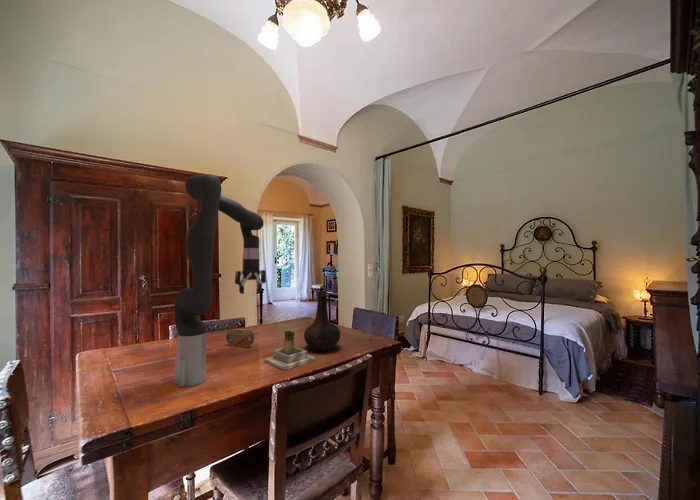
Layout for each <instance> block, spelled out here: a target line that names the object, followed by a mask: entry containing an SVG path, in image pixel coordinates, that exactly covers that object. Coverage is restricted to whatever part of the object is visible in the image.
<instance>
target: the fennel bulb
mask: <svg viewBox="0 0 700 500" xmlns="http://www.w3.org/2000/svg"><path fill="white" fill-rule="evenodd" d="M295 347H296V346H295V331H294V330H292V329H284V346H283V348H284V354H286V355H292V354H295V353H296V351H295Z"/></svg>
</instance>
